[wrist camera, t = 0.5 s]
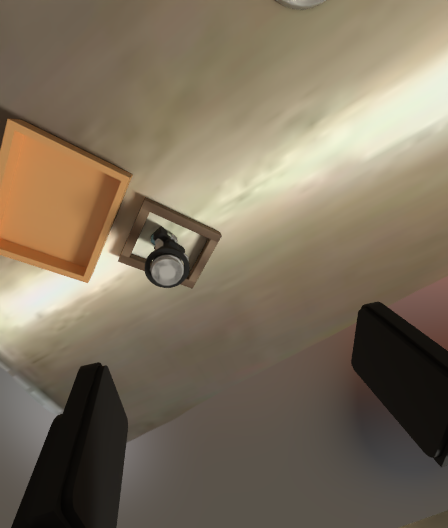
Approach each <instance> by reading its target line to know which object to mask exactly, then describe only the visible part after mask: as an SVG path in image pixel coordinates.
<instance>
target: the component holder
mask: <svg viewBox="0 0 448 528" xmlns="http://www.w3.org/2000/svg"><path fill="white" fill-rule="evenodd" d="M149 212H152V213H154V214H156V215H158V216H160V217H163V218H165V219H167V220H169V221H171V222H174V223H176V224H178V225H180V226H182V227H185V228H187V229H189V230H191V231H194V232H196V233H198V234H200V235H202V236H205V237H207V238H208V240H207V242H206V244H205V245H204V247H203V249H202V251H201V253H200V255H199V257H198V258H197V260H196V262H195V264H194V266H193V268H192V269H191V271H190V273H189V275H188V276H187V278H186V279H185V280H184V281H183V282H182V283H181V285H184V286H187V287H189V288H193V287H194V285H195V283H196V281H197V279H198V278H199V276H200V274H201V272H202V271H203V269H204V267H205V265H206V263H207V262H208V260H209V258H210V256H211V254H212V253H213V251H214V249H215V247H216V245H217V244H218V242H219V240H220V238H221V236H222V235H221V233H220V232H218V231H216V230H214V229H212V228H210V227H208V226H205V225H203V224H201V223H199V222H197V221H195V220H193V219H191V218H188V217H186V216H184V215H182V214H180V213H178V212H176V211H174V210H171V209H169V208H167V207H165V206H163V205H161V204H159V203H156V202H154V201H152V200H150V199H148V198H146V197H145V200H144V202H143V204H142V206H141V209H140V211H139V213H138V216H137V218H136V220H135V223H134V225H133V227H132V230H131V232H130V234H129V237H128V239H127V241H126V243H125V246H124V248H123V250H122V253H121V255H120V257H119V260H118V262H121V263H124V264H127V265H129V266H132V267H135V268H138V269H140V270H143V271H145V262H146V259H144V258H141V257H139V256H136V255H134V254H131V253H132V250H133V248H134V246H135V244H136V241H137V239H138V237H139V235H140V232H141V230H142V228H143V226H144V224H145V221H146V219H147V217H148V215H149ZM152 263H153V262H151V264H150V265H152Z"/></svg>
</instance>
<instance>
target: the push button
mask: <svg viewBox="0 0 448 528" xmlns="http://www.w3.org/2000/svg"><path fill="white" fill-rule="evenodd" d="M171 235H172V237H170V236H168V235H167V232H166V230H165V229H164V228H163V227H162V226H161V227H160V228H159V229H158V230H157V231H156V232H155V233H154V234H153V235H152V236H151V243H153V244H154V245H155V247H154V249H155V251H153V252H152V253H151V254H150V255H149V256H148V258H147V259H146V262H145V274H146V276H147V278H148V279H149V281H150V282H152V283H153V284H155V285H156V286H159V287H163V288H171V287H175V286H177V285H179V284H181V283H182V282H183V281H184V280H185V279H186V278H187V276H188V274H189V269H190V267H189V259H188V256H187V255H185V254H184V253H185V249H184V248H183V247H182V246H180V245H179V244H178V243H176V242H177V237H176V236H175V235H173V234H171ZM152 260H153V263H152V265H150V264H151V262H152ZM181 260H182V261H183V263H184V266H183V264H182V262H181Z"/></svg>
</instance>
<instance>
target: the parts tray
mask: <svg viewBox="0 0 448 528" xmlns="http://www.w3.org/2000/svg"><path fill="white" fill-rule="evenodd" d="M132 175H133V174H131V173H129V172H127V171H125V170H123V169H120V168H118V167H116V166H114V165H112V164H110V163H108V162H106V161H104V160H102V159H100V158H98V157H96V156H94V155H92V154H90V153H88V152H86V151H84V150H82V149H80V148H78V147H76V146H74V145H72V144H70V143H68V142H66V141H64V140H62V139H60V138H58V137H56V136H54V135H51V134H49V133H47V132H45V131H43V130H41V129H39V128H37V127H35V126H33V125H31V124H29V123H27V122H25V121H23V120H19V119H8V120H7V124H6V128H5V133H4V137H3V141H2V145H1V150H0V255H3V256H6V257H9V258H12V259H15V260H18V261H21V262H24V263H27V264H30V265H33V266H37V267H40V268H43V269H46V270H49V271H52V272H55V273H58V274H61V275H64V276H67V277H70V278H74V279H77V280H80V281H83V282H86V283H88V282H89V280H90V278H91V276H92V274H93V272H94V269H95V267H96V264H97V262H98V259H99V257H100V255H101V252H102V250H103V247H104V245H105V242H106V240H107V237H108V235H109V232H110V230H111V227H112V225H113V222H114V220H115V217H116V215H117V213H118V210H119V208H120V205H121V203H122V200H123V198H124V195H125V193H126V190H127V188H128V185H129V183H130V180H131V178H132Z"/></svg>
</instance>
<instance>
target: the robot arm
mask: <svg viewBox="0 0 448 528" xmlns="http://www.w3.org/2000/svg"><path fill="white" fill-rule="evenodd" d="M275 1H277V2H279V3H280V4H282V5H283V6H286V7H289V8H292V9H300V10H304V9H309V8H313V7H316V6H318V5H320V4H322V3H323V2H325V1H326V0H275ZM351 363H352V366H353V368H354V370H355V372H356V373H357V374H358V375H359V376H360V377H361V379H362V380H363V381H364V382H365V383H366V384H367V386H368V387H369V388H370V389H371V390H372V392H373V393H374V394H375V395H376V396H377V397H378V399H379V400H380V401H381V402H382V403H383V405H384V406H385V407H386V408H387V409H388V410H389V412H390V413H391V414H392V415H393V416H394V417H395V419H396V420H397V421H398V422H399V423H400V424H401V426H402V427H403V428H404V429H405V430H406V431H407V433H408V434H409V435H410V436H411V438H412V439H413V440H414V441H415V442H416V443H417V444H418V446H419V447H420V448H421V449H422V450H423V452H424V453H425V454H426V455H428V456H429V457H433V458H434V459H435V461H436V462H437V463H438V464H439V465H440V466H441V467H444V466H447V465H448V351H447V350H446V349H444V348H443V347H441V346H440V345H439V344H437V343H436V342H435V341H433V340H432V339H430V338H429V337H428V336H426V335H425V334H424V333H422V332H421V331H419V330H418V329H416V328H415V327H414V326H413V325H411V324H409V323H408V322H407V321H406V320H404V319H403V318H402V317H400V316H399V315H397V314H396V313H394V312H393V311H392V310H391V309H389V308H388V307H386V306H385V305H384V304H382V303H380V302H374V303H369V304H365V305H363V306H362V307H361V309H360V310H359V312H358V317H357V325H356V332H355V339H354V347H353V353H352V360H351ZM127 432H128V420H127V416H126V414H125V411H124V408H123V406H122V403H121V400H120V398H119V395H118V392H117V390H116V387H115V384H114V382H113V379H112V377H111V374H110V371H109V369H108V367H107V366H102V364H101V363H94V364H89V365H85V366H81V367H80V369H79V371H78V373H77V376H76V379H75V382H74V384H73V387H72V390H71V393H70V395H69V398H68V401H67V404H66V406H65V409H64V412H63V414H60V415H58V416H57V417H56V418H55V419H54V420H53V422H52V425H51V427H50V430H49V432H48V435H47V437H46V440H45V442H44V445H43V447H42V450H41V453H40V455H39V458H38V460H37V463H36V465H35V468H34V471H33V473H32V476H31V478H30V481H29V483H28V486H27V489H26V491H25V494H24V496H23V499H22V501H21V504H20V506H19V509H18V511H17V514H16V517H15V519H14V522H13V524H12V527H11V528H116V526H117V517H118V509H119V501H120V492H121V483H122V475H123V466H124V458H125V449H126V441H127ZM400 528H448V510H447V511H444V512H442V513H439V514H436V515H433V516H431V517H428V518H425V519H422V520H419V521H416V522H414V523H411V524H408V525H405V526H403V527H400Z"/></svg>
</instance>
